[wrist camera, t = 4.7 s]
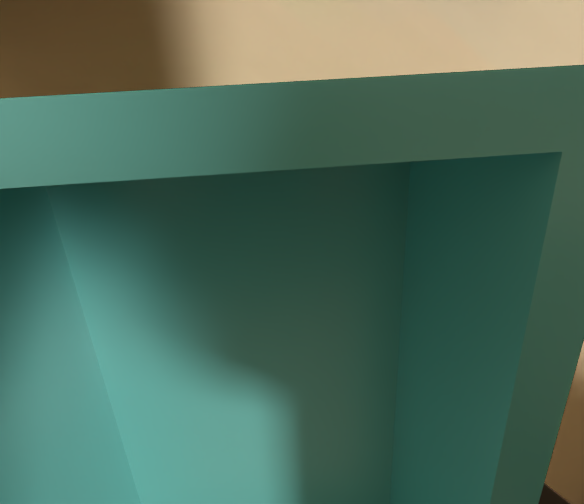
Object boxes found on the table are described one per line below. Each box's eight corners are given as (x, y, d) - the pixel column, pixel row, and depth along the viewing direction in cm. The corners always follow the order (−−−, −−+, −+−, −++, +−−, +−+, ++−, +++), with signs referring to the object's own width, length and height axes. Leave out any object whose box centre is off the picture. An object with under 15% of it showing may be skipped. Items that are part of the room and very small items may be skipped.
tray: (431, 86, 6) (661, 59, 3) (396, 559, 11) (460, 785, 7) (14, 111, 6) (-375, 121, 2) (160, 584, 11) (105, 831, 7)
